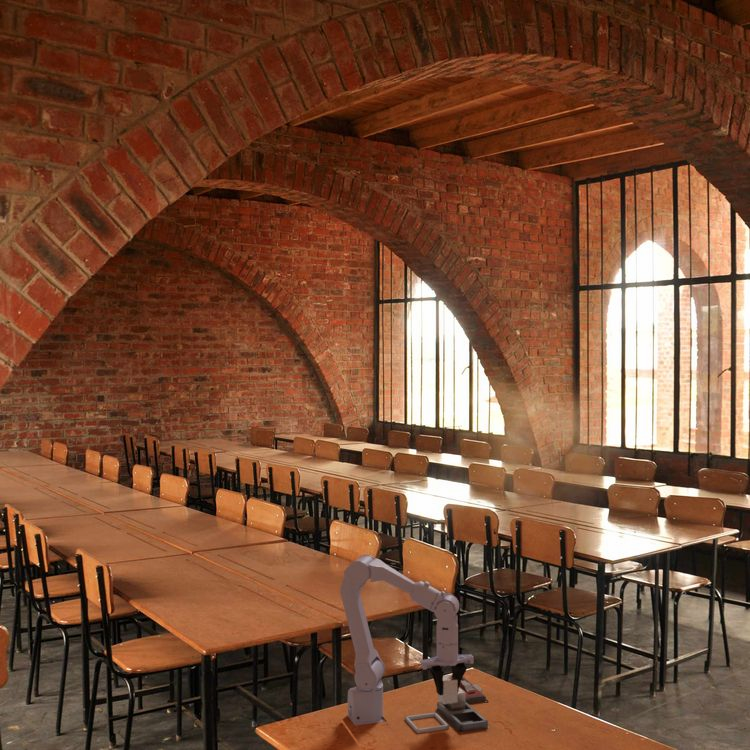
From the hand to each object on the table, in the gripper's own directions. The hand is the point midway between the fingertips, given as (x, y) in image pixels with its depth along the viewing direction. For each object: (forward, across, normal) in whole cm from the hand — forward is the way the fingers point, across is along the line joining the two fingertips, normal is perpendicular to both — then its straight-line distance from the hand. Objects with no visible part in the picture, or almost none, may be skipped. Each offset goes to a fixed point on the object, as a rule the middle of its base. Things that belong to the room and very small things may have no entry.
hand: (447, 692), depth 222 cm
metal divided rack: (+10, +5, +2) cm, 11 cm away
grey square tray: (+10, -5, +2) cm, 11 cm away
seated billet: (+8, +5, +6) cm, 12 cm away
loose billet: (+2, 0, 0) cm, 2 cm away
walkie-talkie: (+10, +15, +20) cm, 27 cm away
